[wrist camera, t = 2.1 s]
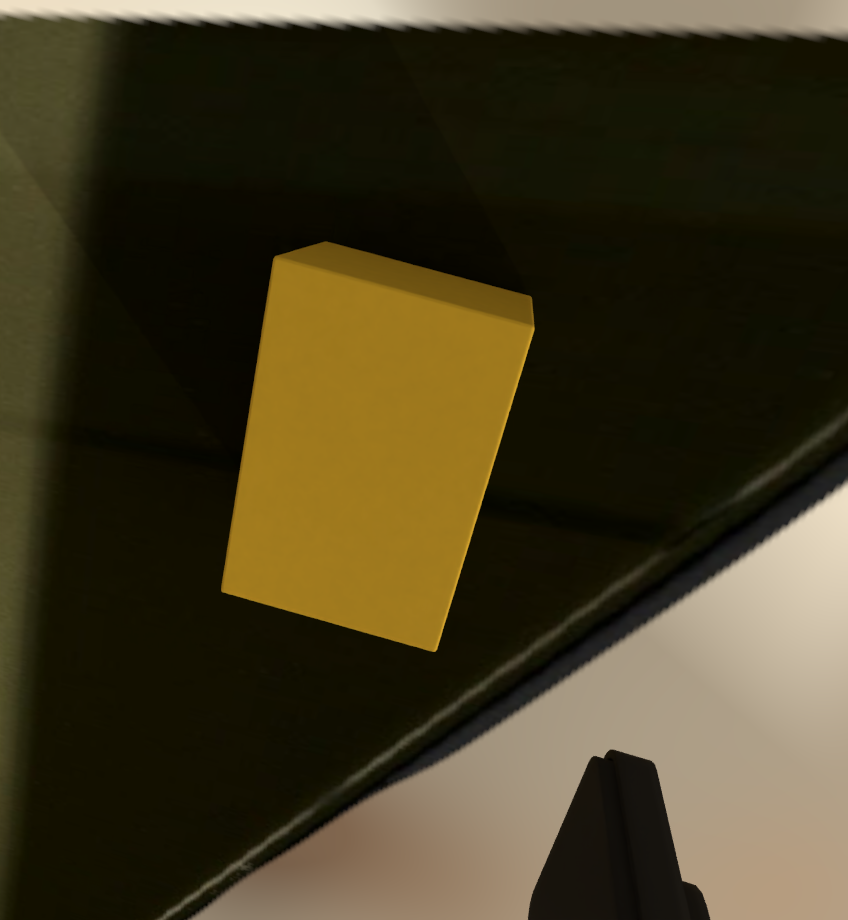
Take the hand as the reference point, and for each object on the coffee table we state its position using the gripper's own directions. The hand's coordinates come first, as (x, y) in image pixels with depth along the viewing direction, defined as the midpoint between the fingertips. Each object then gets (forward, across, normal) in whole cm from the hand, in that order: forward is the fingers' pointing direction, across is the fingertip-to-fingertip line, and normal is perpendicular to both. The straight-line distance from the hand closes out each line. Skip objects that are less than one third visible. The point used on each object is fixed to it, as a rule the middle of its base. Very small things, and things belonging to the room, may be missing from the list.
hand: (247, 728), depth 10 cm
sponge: (+13, 0, -1) cm, 13 cm away
